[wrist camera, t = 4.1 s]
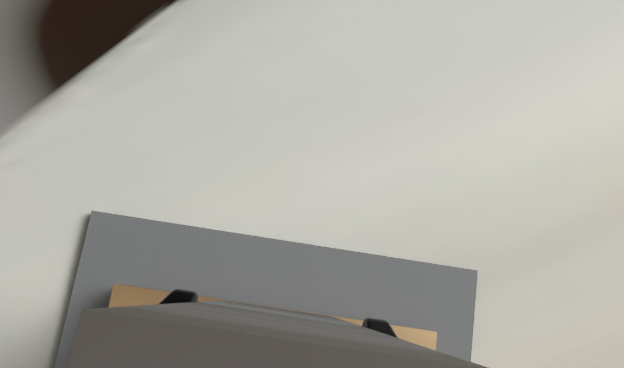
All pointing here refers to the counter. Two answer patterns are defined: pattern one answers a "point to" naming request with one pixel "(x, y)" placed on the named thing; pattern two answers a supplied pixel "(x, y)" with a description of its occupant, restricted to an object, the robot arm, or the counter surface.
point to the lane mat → (269, 278)
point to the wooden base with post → (239, 337)
